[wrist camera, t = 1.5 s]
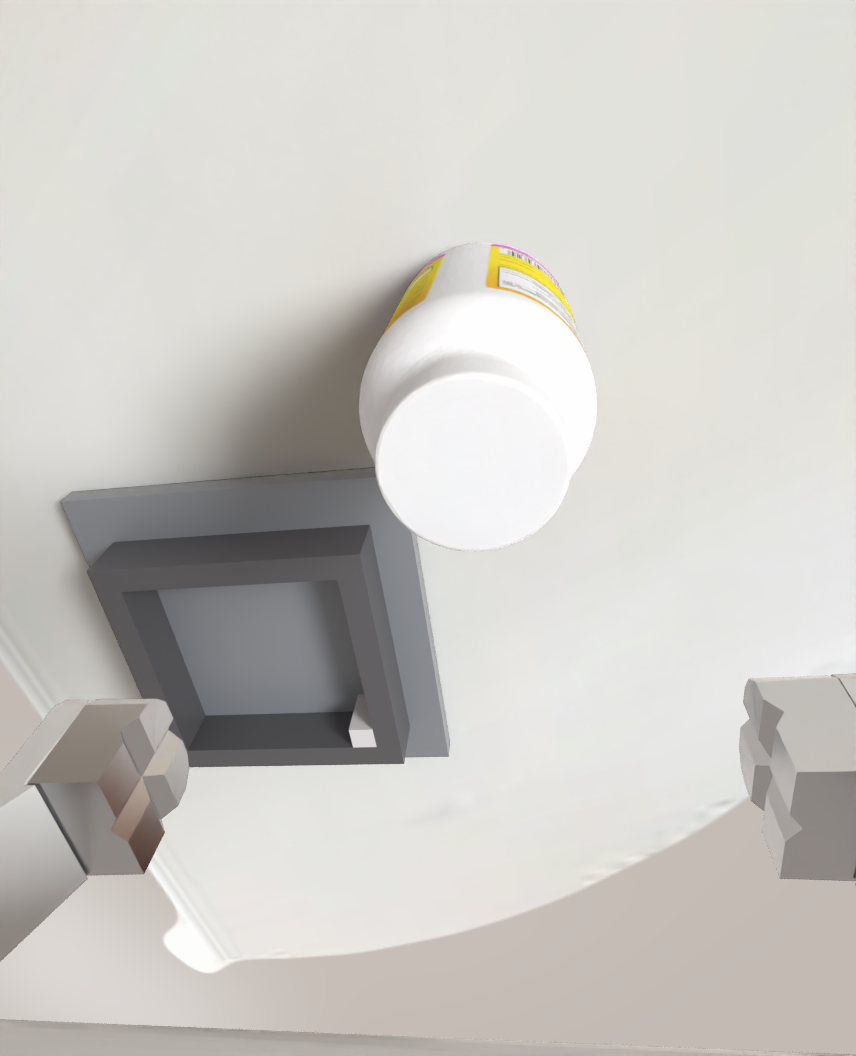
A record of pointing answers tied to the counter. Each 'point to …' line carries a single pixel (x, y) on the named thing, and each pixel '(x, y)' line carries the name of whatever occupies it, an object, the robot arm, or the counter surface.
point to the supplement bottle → (478, 399)
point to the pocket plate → (270, 616)
